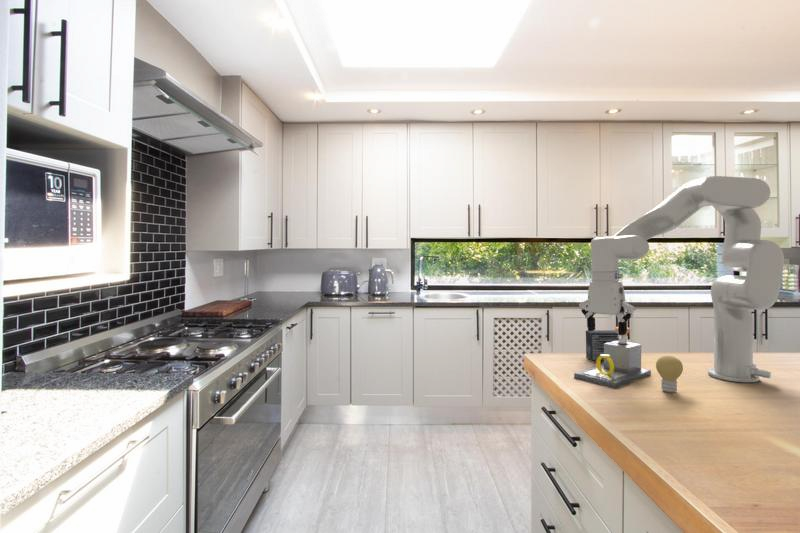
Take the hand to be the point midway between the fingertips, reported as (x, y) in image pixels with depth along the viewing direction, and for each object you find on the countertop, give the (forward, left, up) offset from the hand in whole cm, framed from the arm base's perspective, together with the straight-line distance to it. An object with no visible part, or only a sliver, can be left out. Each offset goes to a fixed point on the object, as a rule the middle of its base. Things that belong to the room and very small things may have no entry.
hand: (606, 332), depth 131 cm
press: (0, -4, -15) cm, 15 cm away
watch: (0, 0, -13) cm, 13 cm away
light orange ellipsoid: (0, -10, -7) cm, 13 cm away
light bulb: (-17, -2, -15) cm, 22 cm away
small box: (+13, -22, -15) cm, 30 cm away
